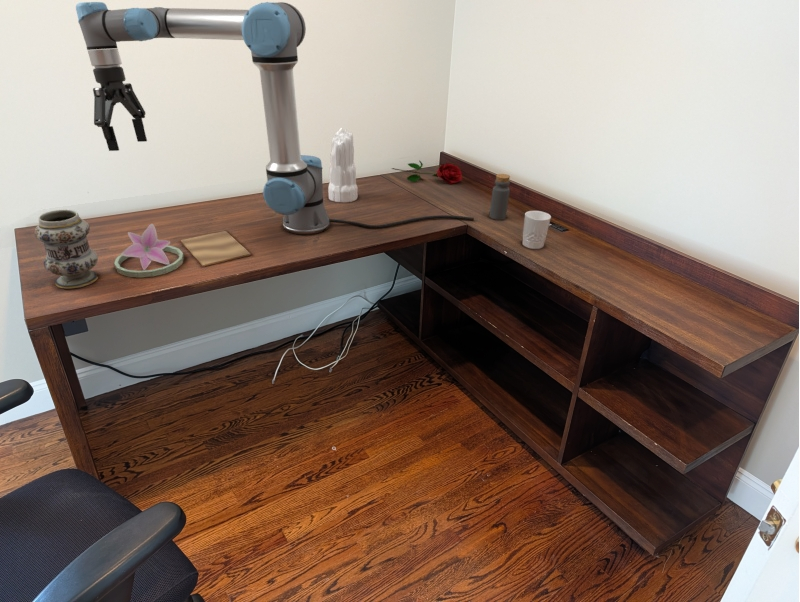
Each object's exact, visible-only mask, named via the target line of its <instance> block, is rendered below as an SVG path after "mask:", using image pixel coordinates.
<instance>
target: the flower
mask: <svg viewBox="0 0 800 602" xmlns="http://www.w3.org/2000/svg"><path fill="white" fill-rule="evenodd" d="M418 161H419V163H420V164H418V163H414V162H411V163H407V165H408V166H409V167H410V168H412V169H414V170H415V171H413V170H405V169H398V168H394V167H393V168H391V170H395V171H402V172H406V173H407V172H408V173H413V174H411V175H408V176H407V177H406V179H407V180H408V181H409V182H412V183H416V182H418V181H419V179H420V180H423V178H422V177H421V175H420V174H422V175H431V177H435V178H439V179H441V180H442V181H443V182H446V183H447V184H449V185H453V184H457V183H459V182H461V181H462V180H463V177H462V176H463V175H462V170H461V168H460V167H459V166H457V165H455V164H451V163H449V162H448V163H445V164H444V163H443V164H441V165H440V166H439V167H438V169H437V170H436V173H433V172H432V173H431V172H430V173H429V172H419V171H417V170H422V168H423V167H424V163H423V162H422V161H421V160H418Z"/></svg>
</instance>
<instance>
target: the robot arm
mask: <svg viewBox="0 0 800 602" xmlns="http://www.w3.org/2000/svg"><path fill="white" fill-rule="evenodd" d="M75 11H76V15H77V21H78V25H79V28H80V30H81V33H82V36H83V39H84V42H85V46H86V50H87V53H88V58H89V62H90V65H91V66H92V67H94V68H93V69H92V72H93V76H94V79H95V82H96V83H97V84H100V87H93V88H92V92H93V96H94V103H93V104H94V105H93V124H94V126H97V127H98V128H101V130H102V134H103V137H104V139H105V141H106V145H107V149H108V152H118V151H120V148H119V144H118V141H117V137H116V134H115V129H114V126H113V125H111V122H112V117H113V113H114V108H115V106H116V105H117V104H121V105H122V106H123V107H124V108H125V110H126V111H127V112H128V113H129V114H130V116H132V119H131V121H132V125H133V129H134V133H135V137H136V141H137V142H140V143H141V142H147V141H148V139H147V134H146V131H145V125H144V121H143V119H145V118H146V113H147V112H146V110H145V109H144V106H142V104H141V102H140V100H139V98H138V97H137V94H136V93H135V91H134V89H133V85H132V84H131V83H130V82H128V83H124V82H125V81H126V79H127V78H126V75H125V71H124V68H123V67H122V66H121V65H122V63H123V62H122V59H121V55H120V51H119V48H118V44H117V43H120V42H146V41H150V40H153V39H196V40H199V39H200V40H226V41H228V40H229V41H244V44H245V45H246V47H248V49H249V50H250V53H251V59H252V60H251V61H252V64H253V65H255V67H256V68H257V69H258V70H259V76H260V85H261V93H262V100H263V101H262V102H263V109H264V118H265V127H266V135H267V144H268V151H269V152H268V153H269V161H268V163H267V164H266V165H265V172H266V180H267V181H266V183H265V184H264V187H263V189H262V196H263V200H264V202H265V204H266V205H267V206H268V207H269V209H271V210H272V211H273V212H275V213H276V214H279V215H281V216H283V219H282V228H283V230H284V231H286V232H287V233H290V234H294V235H301V236H305V235H306V236H307V235H316V234H319V233H322V232H325V231H326V230H328V229H329V228H330V225H331V223H334V224H335V223H337V224H344V225H352V226H359V227H362V228H367V229H381V228H382V229H383V228H388V227H394V226H399V225H404V224H407V223H412V222H413V223H414V222H418V221H419V222H420V221H425V220H432V219H454V220H455V219H457V220H466V221H475V217H471V216H464V215H446V214H445V215H442V214H441V215H427V216H420V217H416V218H408V219H405V220H400V221H395V222H390V223H384V224H365V223H361V222H358V221H351V220H343V219H335V218H330V217H329V214H328V212H327V209H326V207H325V204H324V188H323V187H324V186H323V185H324V184H323V183H324V182H323V165H322V160H321V158H320V157H317V156H314V155H307V154H301V145H300V133H299V122H298V113H297V112H298V111H297V101H296V100H297V99H296V90H295V79H294V67H296V65H297V64H298V61H299V57H298V47H299V46H300V45H301V44H302V43H303V41H304V38H305V36H306V31H307V30H306V22H305V18H304V17H303V15H302V13H301V12H300V10H299V9H298V8H297V7H296V6H294V5H293V4H290V3H288V2H282V1H281V2H280V1H278V2H270V1H269V2H268V1H265V2H260V3H257V4H255V5H253V6H251V7H250V8H249V9H233V8H232V9H228V8H225V9H224V8H178V7H176V8H175V7H172V8H170V7H160V6H156V7H147V8H146V7H140V8H139V7H130V8H122V9H119V8H118V9H108V6H107V4H106V3H105V2H102V1H89V2H88V1H85V2H78V3H77V4H76V5H75Z"/></svg>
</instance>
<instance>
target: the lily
mask: <svg viewBox="0 0 800 602" xmlns="http://www.w3.org/2000/svg"><path fill="white" fill-rule="evenodd" d="M127 235H128V237H129V239H130V240H131V242H132V244H131V245H129V246H128V247H126V248H125V249H124V250H123V251H122V252H121V254H122V255H123V256H128V257H129V258H139V260H140V265H141V268H142V271H145V270H147V269H148V267H149V266H150V264H151V263H152V261H154V262H156V263H159V264H163V265H166V266H167V265H170V260H169V258H168V256H167V254H166V253H165V251H163V250H162V249H164V248H165V247H166V246H170V244H171V241H170V240H166V239H158V233H157V230H156V226H155V225H154V224H153V223H150V224H149V225H148V226H147V227H146V229H145V230H144V231H143V232H142V235H141V234H138V233H135V232H132V231H128V232H127Z"/></svg>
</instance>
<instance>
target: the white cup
mask: <svg viewBox="0 0 800 602" xmlns="http://www.w3.org/2000/svg"><path fill="white" fill-rule="evenodd" d="M551 219H552V216H551V214H549V213H548V212H544V211H541V210H529V211H526V212H525V213H524V219H523V228H522V241H521V244H522V245H523V247H526V249H527V248H528V249H532V250H539V249H542V248H544V246H545V242H546V238H547V235H548V231H549V227H550V223H551Z"/></svg>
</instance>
